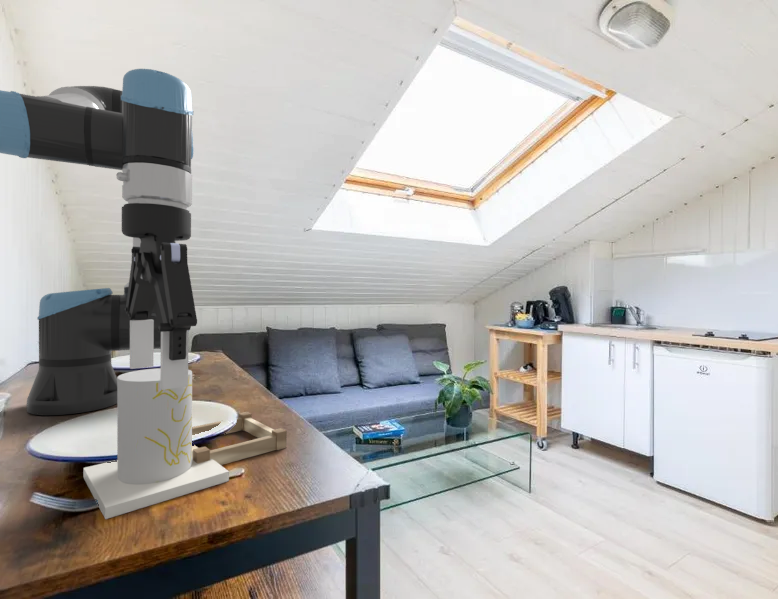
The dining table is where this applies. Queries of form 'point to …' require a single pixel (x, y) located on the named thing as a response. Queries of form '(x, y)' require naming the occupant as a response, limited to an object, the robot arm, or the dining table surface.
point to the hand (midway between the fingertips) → (156, 376)
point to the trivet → (147, 486)
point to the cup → (152, 428)
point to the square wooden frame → (263, 444)
